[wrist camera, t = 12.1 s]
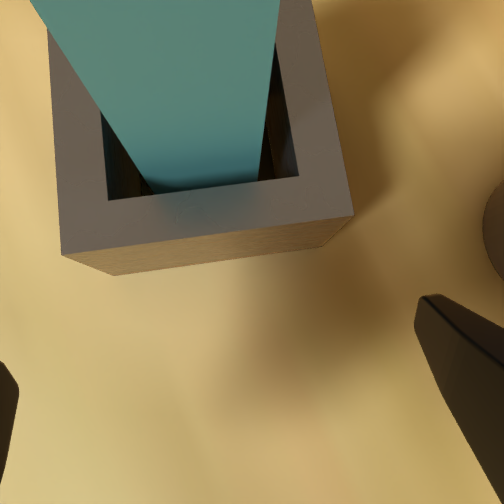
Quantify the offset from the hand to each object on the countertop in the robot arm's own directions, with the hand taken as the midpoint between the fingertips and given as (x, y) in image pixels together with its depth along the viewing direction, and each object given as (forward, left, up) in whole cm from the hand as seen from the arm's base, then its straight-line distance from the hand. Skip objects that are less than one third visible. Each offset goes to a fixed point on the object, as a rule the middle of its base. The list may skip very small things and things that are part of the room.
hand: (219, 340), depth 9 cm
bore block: (+7, +3, -8) cm, 11 cm away
